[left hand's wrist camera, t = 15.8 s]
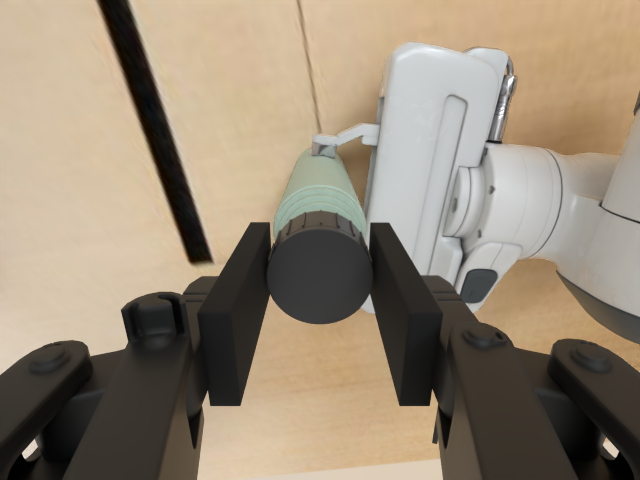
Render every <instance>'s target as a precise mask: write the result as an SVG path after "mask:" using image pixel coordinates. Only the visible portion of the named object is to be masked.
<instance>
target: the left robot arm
mask: <svg viewBox="0 0 640 480" xmlns="http://www.w3.org/2000/svg"><path fill="white" fill-rule="evenodd" d="M270 252H271V238H270V222H251V223H250V225H249V226H248V228H247V230H246V231H245V233H244V235H243V236H242V238H241V240H240V241H239V243H238V245H237V246H236V248H235V250H234V252H233V253H232V255H231V257H230V258H229V260H228V262H227V263H226V265H225V267H224V268H223V270H222V272H221V273H220V275H219V276H202V277H200V278H198V279H197V280H195V281H194V282H192V283H191V284H189V286H188V287H187V289H186V290H185V291H184V293H183V295H181V294H178V293H174V292H157V293H151V294H147V295H144V296H141V297H138V298H136V299H134V300H132V301H131V302H129V303H127V304H126V305H125V306H124V307H123V308H122V309H121V312H122V317H123V321H124V325H125V329H126V333H127V338H128V344H127V346H126V348H125V349H123V350H119V351H115V352H110V353H105V354H100V355H95V356H90V354H89V350H88V347H87V345H85V344H84V343H83V342H80V341H74V340H70V341H59V342H54V343H50V344H47V345H44V346H43V347H41V348H39V349H36V350H34V351H32V352H30V353H29V354H27V355H26V356H24V357H23V358H21V359H20V360H18V361H17V362H16V363H15V364H13V365H12V366H11V367H10V368H9V369H7V370H6V371H5V372H4V373H2V374H1V375H0V480H197V475H198V466H199V458H200V450H201V442H202V433H203V425H204V416H203V409H202V403H203V401H204V398H205V396H206V393H207V391H208V393H209V400H210V406H240V405H241V402H242V398H243V394H244V390H245V387H246V383H247V379H248V375H249V371H250V368H251V364H252V360H253V356H254V353H255V349H256V345H257V341H258V338H259V334H260V330H261V326H262V322H263V319H264V315H265V311H266V307H267V304H268V300H269V296H270V292H269V289H268V285H267V277H266V275H267V267H268V263H269V262H267V261H268V258H269V255H270ZM369 253H370V256H371V259H372V262H373V264H372V268H373V285H372V289H371V292H370V296H371V300H372V304H373V307H374V311H375V315H376V319H377V322H378V326H379V330H380V334H381V338H382V341H383V345H384V349H385V353H386V356H387V360H388V364H389V368H390V371H391V375H392V379H393V383H394V387H395V390H396V394H397V398H398V402H399V405H400V406H430V400H431V393H432V389H433V391H434V394H435V397H436V399H437V402H438V409H437V415H436V421H435V428H434V434H433V441H432V443H435V444H437V441H439V449H440V457H441V465H442V474H443V480H640V373H639V372H638V371H637V370H636V369H634V368H633V367H632V366H631V365H629V364H628V363H627V362H626V361H624V360H623V359H622V358H621V357H619V356H617V355H616V354H614V353H613V352H611V351H610V350H608V349H606V348H603V347H601V346H599V345H597V344H595V343H592V342H587V341H585V340H578V339H563V340H558V341H557V342H556V343H554V344H553V347H552V350H551V354H550V355H548V354H543V353H538V352H533V351H528V350H523V349H519V348H515V347H514V345H513V343H512V341H511V340H510V339H509V337H508V336H507V335H506V334H505V333H503V332H502V331H500V330H499V329H497V328H495V327H493V326H490V325H488V324H485V323H480V322H479V321H478V320H477V318H476V317H475V316H474V314H473V313H472V312H471V310H470V309H469V308H468V306H467V305H466V303H465V302H464V301H462V298H461V297H460V295H459V294H458V293H457V291H456V290H455V288H454V287H453V286H452V284H451V283H450V282H448V281H447V280H445V279H443V278H442V277H440V276H439V275H420V273H419V272H418V270H417V268H416V267H415V265H414V263H413V262H412V260H411V258H410V257H409V255H408V253H407V252H406V250H405V248H404V246H403V245H402V243H401V241H400V240H399V238H398V236H397V235H396V233H395V231H394V230H393V228H392V226H391V225H390V223H389V222H370V238H369ZM606 437H607V438H608V439H609V440H610V442H611V443H612V444H613V445H614V446H615V447H616V448H617V449H618V450H619V453H618V455H617V457H616V458H614V457H613V456H612V455H611V454H610V453H609V452H608V451H607V450H606V449H605V448H604V447H603V443H604V441H605V438H606ZM34 439H35V441H36V443H37V446H38V448H37V449H36V450H35V451H34V452H33V453H32V454H31V455H30V456H29V457H28V458H26V459H24V458H23V455H22V452H23V451H24V450H25V449H26V448H27V446H28V445H29V444H30V443H31V442H32V441H33V440H34Z"/></svg>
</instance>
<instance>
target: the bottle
mask: <svg viewBox="0 0 640 480" xmlns="http://www.w3.org/2000/svg"><path fill="white" fill-rule="evenodd" d="M311 150H312V148H309V149H307V150H306V151H305V152H303V153H302V155H301V156H300V157H299V159H298V161H297V163H296V166H295V168H294V171H293V173H292V176H291V178H290V180H289V183H288V185H287V188H286V190H285V193H284V195H283V198H282V200H281V202H280V205H279V207H278V210H277V212H276V215H275V218H274V224H273V232H274V238H275V241H276V238H277V235H278V232H279V230H282V228H283V227H284V226H285V225H286V224H287V223H288V222H289V220H290V219H291V220H292V219H293V218H295V217H297V216H299V215H301V214H303V213H304V212H306V213H307V212H312V211H320V210H322V211H328V212H333V213H338V214H339V215H341V216H343V217H345V218H347V219H348V220H349V221H350V220H351V221H352V223H353V224H354V225H355V226H356V227H357V229H358V230H359V231H360V232H362V234H363V237H364V240H365V238H366V232H367V225H366V219H365V215H364V213H363V210H362V208H361V205H360V203H359V200H358V198H357V195H356V193H355V190H354V188H353V186H352V183H351V181H350V178H349V176H348V173H347V171H346V168H345V166H344V163H343V161H342V159H341V157H340V156H339V155H338V153H336V154H335V158H330V157H325V156H324V155H322V156H313V155H311Z"/></svg>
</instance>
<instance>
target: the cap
mask: <svg viewBox="0 0 640 480" xmlns="http://www.w3.org/2000/svg"><path fill="white" fill-rule="evenodd" d="M267 262H269V263H268V267H267V275H266V277H267V285H268V289H269V292H270V295H271V296H272V298H273V300H274V301H275V303H276V304H277V305H278V306H279V308H280V309H281V310H283V311H284V312H285V313H286V314H288V315H289V316H291V317H293V318H295V319H297V320H299V321H302V322H306V323H310V324H329V323H334V322H338V321H340V320H343V319H345V318H347V317H349V316H351V315H352V314H354V313H355V312H356V311H357V310H358V309H359V308H360V307H361V306H362V305H363V304H364V303H365V301H366V300H367V298H368V296H369V294H370V292H371V289H372V285H373V268H372V264H373V262H372V259H371V256H370V253H369V250H368V247H367V245H366V243H365V240H364V237H363V234H362V232H360V231H359V230H358V229H357V227H356V226H355V225H354V224H353V223H352V221H351V220H350V221H349V220H348V219H347V218H345V217H343V216H341V215H339V214H338V213H333V212H328V211H322V210H320V211H312V212H307V213H306V212H304V213H303V214H301V215H299V216H297V217H295V218H293V219H292V220H291V219H290V220H289V222H288V223H287V224H286V225H285V226H284V227H283V228H282V230H279V232H278V235H277V238H276V241H275V244H274V243H273V246H272V249H271V252H270V255H269V258H268V261H267Z"/></svg>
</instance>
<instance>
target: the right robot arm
mask: <svg viewBox="0 0 640 480" xmlns="http://www.w3.org/2000/svg"><path fill="white" fill-rule="evenodd" d="M506 68H507V75H504V74H505V70H506ZM513 73H514V69H513V63H512V60H511V59H510V57H509V56H508V54H507V53H506V52H504V51H502V50H500V49H495V48H486V47H472V48H469V49H467V50H465V51H463V52H459V51H455V50H452V49H448V48H444V47H440V46H436V45H431V44H425V43H419V42H405V43H402V44H401V45H399V46H397V47H396V48H395V49H394V50H393V51H391V52H390V53H389V54H388V55H387V57H386V58H385V61H384V66H383V73H382V80H381V87H380V94H379V101H378V108H377V115H376V122H375V124H370V123H358V124H356V125H354V126H352V127H350V128H348V129H346V130H344V131H342V132H339V133H337V135H327V134H313V137H312V150H311V155H313V156H322V155H324V156H325V157H330V158H335V154H336V147H338V146H340V145H342V144H344V143H347V142H349V141H351V140H353V139H355V138H358V137H359V141H360V142H361V143H362V144H365V145H372V149H371V156H370V163H369V170H368V177H367V184H366V191H365V198H364V205H363V213H364V215H365V219H366V225H367V232H366V238H365V243H366V245H367V247H368V250H369V238H370V222H389V223H390V225H391V226H392V228H393V230H394V231H395V233H396V235H397V236H398V238H399V240H400V241H401V243H402V245H403V246H404V248H405V250H406V252H407V253H408V255H409V257H410V258H411V260H412V262H413V263H414V265H415V267H416V268H417V270H418V272H419V273H420V275H439V276H440V277H442V278H443V279H445V280H447V281H448V282H450V283H451V284H452V286H453V287H454V288H455V290H456V291H457V293H458V294H459V295H460V297H461V298H462V301H464V302H465V303H466V305H467V306H468V308H469V309H470V310H471V312H472V313H475V312H477V311H478V310H479V309H480V308H481V306H482V305H483V303H484V302H485V300H486V299H487V297H488V296H489V295H490V293H491V292H492V290H493V289H494V288H495V286H496V285H497V283H498V282H499V281H500V280H501V278H502V277H503V276H504V275H505V273H506V272H507V271H508V270H509V269H510V268H511V267H512V265H513V264H514V263H515V262H516V261H517V260H525V259H533V258H540V259H545V260H549V261H551V262H553V263H555V264H556V265H557V268H558V269H557V270H556V272H557V274H558V276H559V277H560V279H561V280H562V282H563V283H564V284H565V286H566V287H567V288H568V290H569V291H570V292H571V293H572V294H573V296H574V297H575V298H576V299H577V301H578V302H579V303H580V304H581V306H582V307H583V308H584V309H585V311H586V312H587V313H588V314H589V315H590V316H591V317H593V318H594V319H595V320H596V321H597V322H599V323H600V324H601V325H603V326H604V327H606V328H607V329H609V330H611V331H612V332H614V333H616V334H617V335H619V336H621V337H623V338H625V339H627V340H630V341H632V342H635V343H637V344H640V91H639V95H638V99H637V102H636V106H635V109H634V115H635V118H634V121H633V123H632V126H631V128H630V131H629V133H628V136H627V139H626V141H625V144H624V146H623V149H622V152H621V154H620V155H614V154H605V153H595V152H586V153H579V154H574V155H563V154H559V153H557V152H555V151H553V150H550V149H547V148H543V147H535V146H526V145H516V144H506V143H502V138H503V134H504V131H505V127H506V123H507V119H508V116H507V115H508V113H509V112H508V111H509V107H510V103H511V99H512V96H514V93H515V90H516V86H517V76H516V75H513ZM486 140H487V141H486ZM360 308H361V309H362V310H363V311H365V312H367V313H371V314H375V311H374V307H373V304H372V300H371V296H370V294H369V296H368V298H367V300H366V301H365V303H364V304H363V305H362V306H361V307H360Z"/></svg>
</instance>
